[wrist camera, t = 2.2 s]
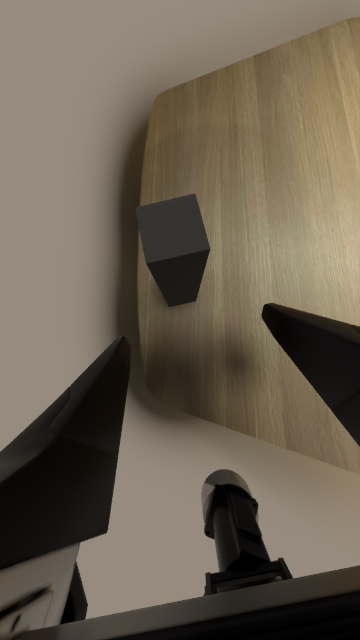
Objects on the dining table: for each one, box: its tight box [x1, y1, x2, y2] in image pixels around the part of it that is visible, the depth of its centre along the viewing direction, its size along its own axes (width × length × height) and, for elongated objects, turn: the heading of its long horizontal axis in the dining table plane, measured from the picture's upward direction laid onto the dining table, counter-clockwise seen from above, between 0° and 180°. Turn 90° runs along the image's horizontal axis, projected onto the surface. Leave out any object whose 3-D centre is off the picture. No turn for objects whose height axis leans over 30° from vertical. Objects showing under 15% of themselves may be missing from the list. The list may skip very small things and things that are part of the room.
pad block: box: [135, 194, 210, 307], centre depth 16 cm, size 4×4×13 cm
